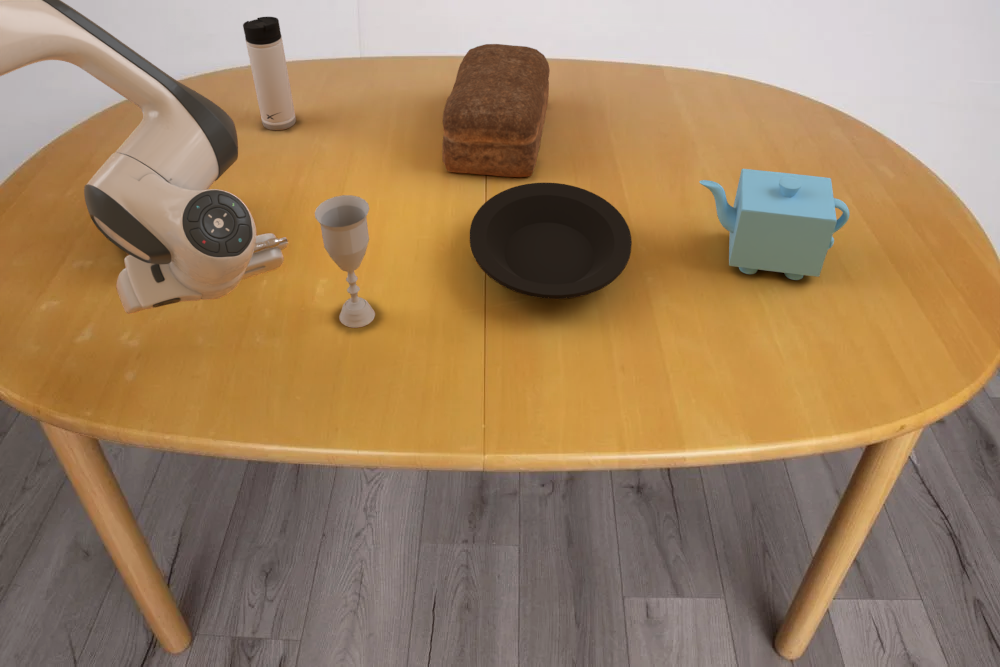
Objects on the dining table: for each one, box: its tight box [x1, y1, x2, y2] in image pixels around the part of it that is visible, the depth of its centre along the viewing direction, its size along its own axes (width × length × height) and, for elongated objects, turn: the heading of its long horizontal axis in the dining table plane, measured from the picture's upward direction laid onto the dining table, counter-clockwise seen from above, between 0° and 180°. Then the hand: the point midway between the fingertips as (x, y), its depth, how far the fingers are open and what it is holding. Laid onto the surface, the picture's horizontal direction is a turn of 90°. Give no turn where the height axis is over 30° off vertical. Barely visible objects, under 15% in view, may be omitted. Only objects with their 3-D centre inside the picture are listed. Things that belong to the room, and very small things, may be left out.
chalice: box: [314, 194, 376, 329], centre depth 118 cm, size 7×7×18 cm
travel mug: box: [242, 16, 297, 131], centre depth 158 cm, size 6×7×20 cm
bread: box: [441, 43, 551, 178], centre depth 157 cm, size 17×30×13 cm, turn 172°
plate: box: [469, 182, 633, 300], centre depth 131 cm, size 28×24×6 cm
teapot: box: [699, 168, 851, 281], centre depth 130 cm, size 22×11×14 cm, turn 78°
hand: (199, 286), depth 116 cm, fingers closed
